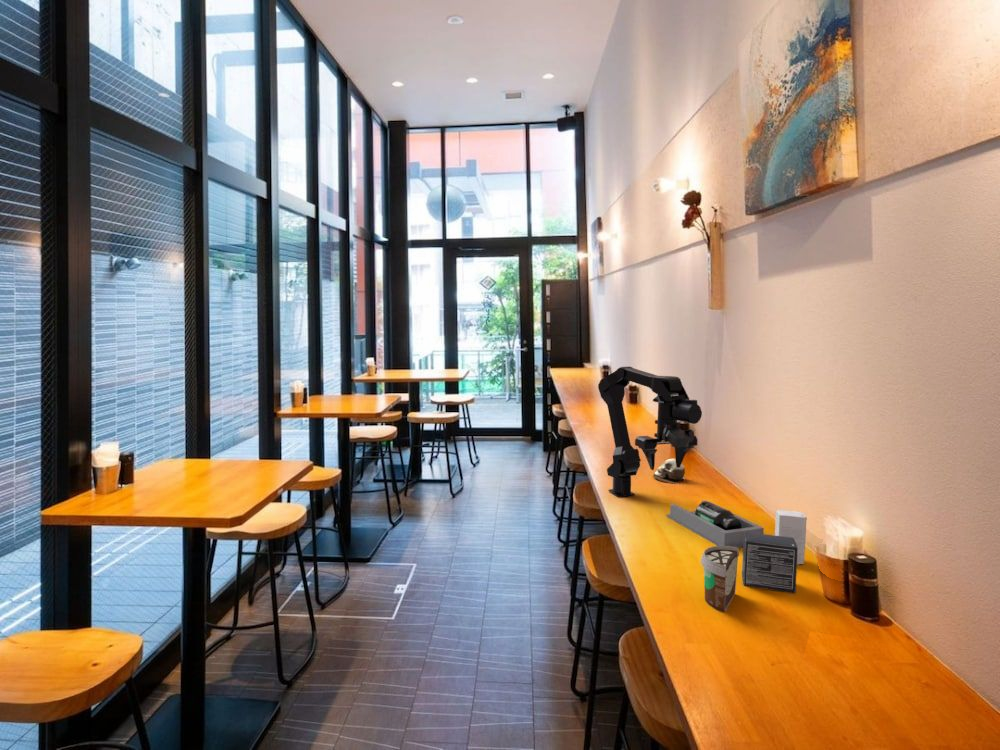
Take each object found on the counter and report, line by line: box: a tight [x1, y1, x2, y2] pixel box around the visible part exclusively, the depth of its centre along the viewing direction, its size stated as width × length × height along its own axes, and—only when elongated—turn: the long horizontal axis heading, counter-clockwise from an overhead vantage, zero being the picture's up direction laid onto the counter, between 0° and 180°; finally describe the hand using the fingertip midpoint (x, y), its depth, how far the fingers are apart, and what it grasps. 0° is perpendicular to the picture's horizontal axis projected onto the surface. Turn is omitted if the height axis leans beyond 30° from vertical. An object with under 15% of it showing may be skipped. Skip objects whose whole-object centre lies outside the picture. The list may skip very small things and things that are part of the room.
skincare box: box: [774, 509, 808, 565], centre depth 138 cm, size 6×4×12 cm
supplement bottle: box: [694, 500, 742, 531], centre depth 155 cm, size 7×7×12 cm
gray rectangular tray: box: [665, 500, 765, 549], centre depth 158 cm, size 25×13×4 cm, turn 19°
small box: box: [741, 532, 798, 594], centre depth 126 cm, size 11×6×10 cm, turn 71°
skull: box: [652, 458, 686, 485], centre depth 207 cm, size 12×10×10 cm
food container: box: [700, 545, 740, 613], centre depth 119 cm, size 12×6×10 cm, turn 145°
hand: (665, 468), depth 172 cm, fingers open, 9 cm apart
